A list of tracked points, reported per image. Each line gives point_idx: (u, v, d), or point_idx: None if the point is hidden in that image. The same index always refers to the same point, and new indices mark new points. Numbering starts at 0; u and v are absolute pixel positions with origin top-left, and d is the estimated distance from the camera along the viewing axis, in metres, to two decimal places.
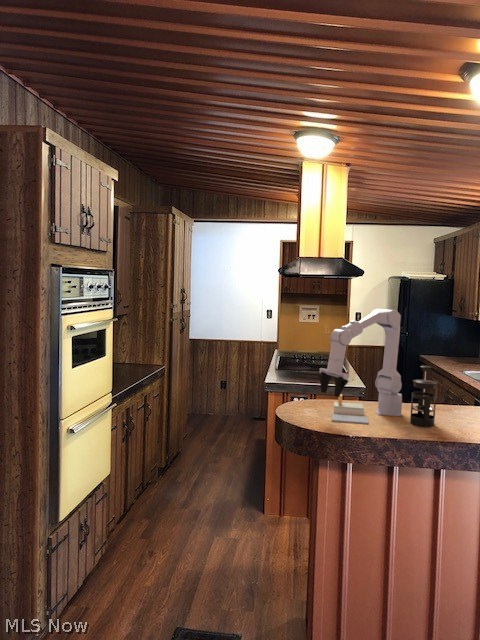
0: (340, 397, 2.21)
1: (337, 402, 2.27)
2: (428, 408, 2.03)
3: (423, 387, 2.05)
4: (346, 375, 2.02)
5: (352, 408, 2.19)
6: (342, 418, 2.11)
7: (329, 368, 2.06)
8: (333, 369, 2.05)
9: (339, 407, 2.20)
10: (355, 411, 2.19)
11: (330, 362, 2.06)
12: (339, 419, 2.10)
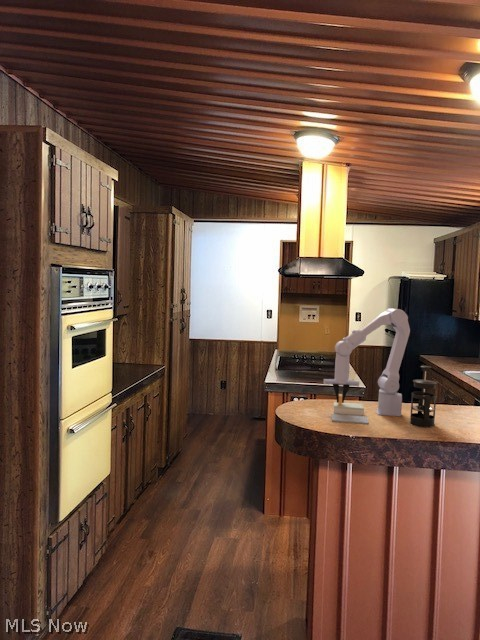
0: (340, 397, 2.21)
1: None
2: (428, 408, 2.03)
3: (423, 387, 2.05)
4: None
5: (352, 408, 2.19)
6: (342, 418, 2.11)
7: (342, 379, 2.20)
8: (345, 380, 2.20)
9: (339, 407, 2.20)
10: (355, 411, 2.19)
11: (342, 374, 2.20)
12: (339, 419, 2.10)
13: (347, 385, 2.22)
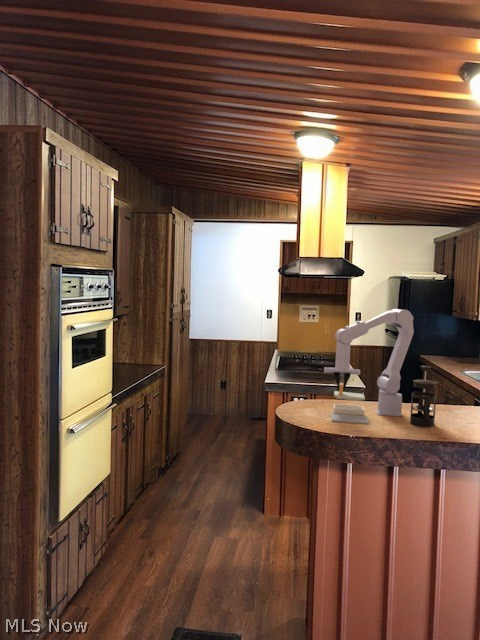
0: (341, 386, 2.19)
1: (338, 391, 2.25)
2: (428, 408, 2.03)
3: (423, 387, 2.05)
4: None
5: (353, 397, 2.17)
6: (342, 418, 2.11)
7: (342, 368, 2.18)
8: (346, 368, 2.18)
9: (340, 396, 2.17)
10: (355, 411, 2.19)
11: (342, 362, 2.18)
12: (339, 419, 2.10)
13: (348, 373, 2.19)
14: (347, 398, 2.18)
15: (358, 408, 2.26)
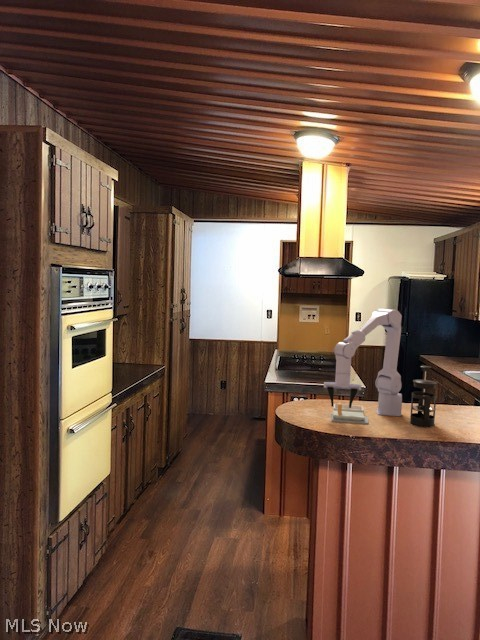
0: (339, 406, 2.11)
1: (336, 411, 2.16)
2: (428, 408, 2.03)
3: (423, 387, 2.05)
4: None
5: (352, 417, 2.08)
6: None
7: (343, 383, 2.09)
8: (347, 383, 2.10)
9: (338, 416, 2.09)
10: (355, 411, 2.19)
11: (343, 377, 2.09)
12: (339, 419, 2.10)
13: None
14: (346, 418, 2.10)
15: (358, 408, 2.26)
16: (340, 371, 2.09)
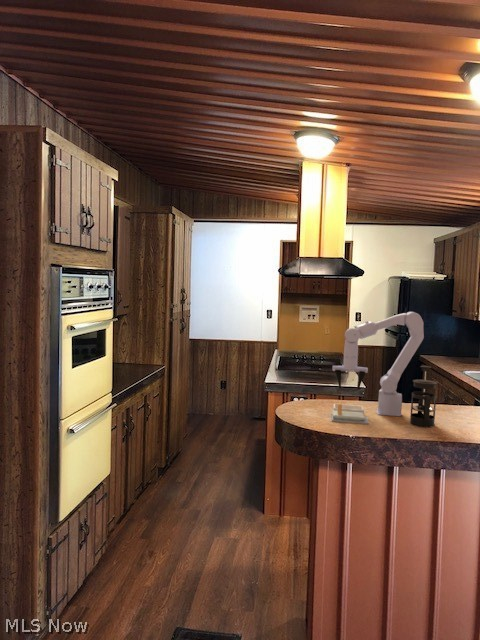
0: (339, 406, 2.11)
1: (336, 411, 2.16)
2: (428, 408, 2.03)
3: (423, 387, 2.05)
4: (367, 369, 2.25)
5: (352, 417, 2.08)
6: None
7: (351, 366, 2.24)
8: (354, 366, 2.24)
9: (338, 416, 2.09)
10: (355, 411, 2.19)
11: (351, 360, 2.24)
12: (339, 419, 2.10)
13: (356, 371, 2.26)
14: (346, 418, 2.10)
15: (358, 408, 2.26)
16: (344, 354, 2.25)
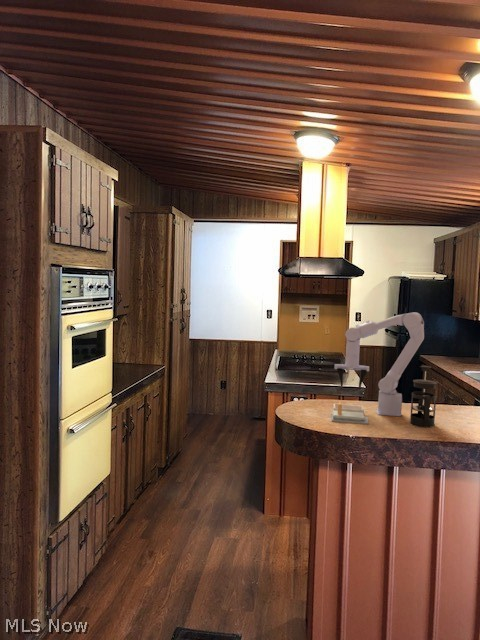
0: (339, 406, 2.11)
1: (336, 411, 2.16)
2: (428, 408, 2.03)
3: (423, 387, 2.05)
4: None
5: (352, 417, 2.08)
6: None
7: (352, 364, 2.28)
8: (356, 364, 2.28)
9: (338, 416, 2.09)
10: (355, 411, 2.19)
11: (352, 359, 2.28)
12: (339, 419, 2.10)
13: None
14: (346, 418, 2.10)
15: (358, 408, 2.26)
16: (346, 353, 2.30)
